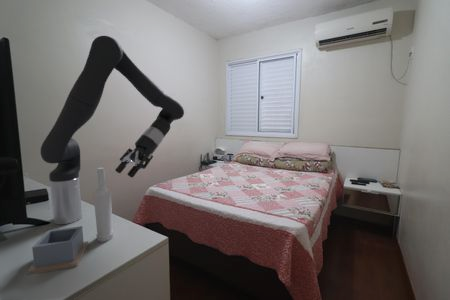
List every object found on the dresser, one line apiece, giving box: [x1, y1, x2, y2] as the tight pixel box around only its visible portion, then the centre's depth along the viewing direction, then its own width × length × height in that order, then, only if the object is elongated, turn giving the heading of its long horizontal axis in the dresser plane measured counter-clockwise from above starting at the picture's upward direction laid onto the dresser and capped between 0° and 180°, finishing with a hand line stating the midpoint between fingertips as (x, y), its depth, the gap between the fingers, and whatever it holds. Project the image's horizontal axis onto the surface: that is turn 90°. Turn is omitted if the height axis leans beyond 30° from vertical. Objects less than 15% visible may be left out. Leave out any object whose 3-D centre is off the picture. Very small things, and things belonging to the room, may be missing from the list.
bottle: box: [93, 167, 114, 243], centre depth 71 cm, size 5×5×25 cm
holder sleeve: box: [27, 226, 89, 275], centre depth 62 cm, size 11×11×7 cm
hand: (123, 174), depth 76 cm, fingers open, 8 cm apart
